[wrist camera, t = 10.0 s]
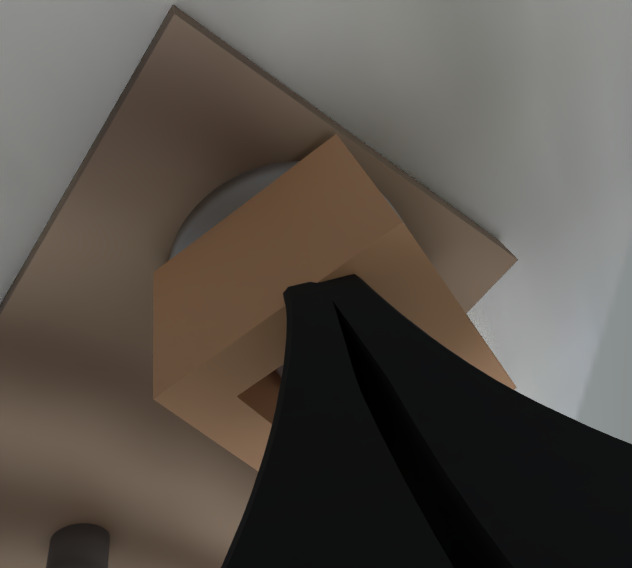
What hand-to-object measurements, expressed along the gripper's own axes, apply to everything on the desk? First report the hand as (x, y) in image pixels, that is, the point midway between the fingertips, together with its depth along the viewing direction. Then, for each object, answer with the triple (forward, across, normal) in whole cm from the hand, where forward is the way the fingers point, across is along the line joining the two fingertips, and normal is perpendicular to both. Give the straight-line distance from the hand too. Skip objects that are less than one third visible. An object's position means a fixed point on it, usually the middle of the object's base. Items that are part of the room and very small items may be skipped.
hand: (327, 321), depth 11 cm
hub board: (+6, +5, +7) cm, 10 cm away
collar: (+4, 0, +2) cm, 5 cm away
